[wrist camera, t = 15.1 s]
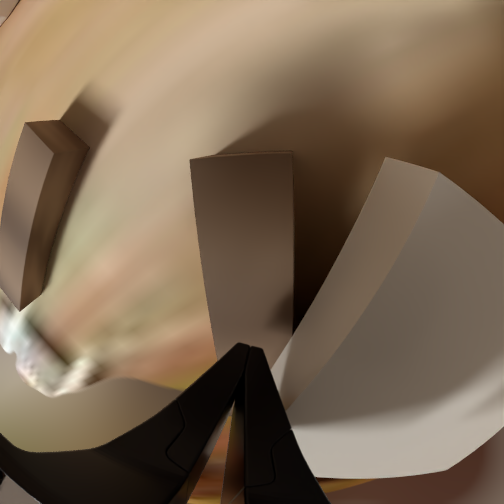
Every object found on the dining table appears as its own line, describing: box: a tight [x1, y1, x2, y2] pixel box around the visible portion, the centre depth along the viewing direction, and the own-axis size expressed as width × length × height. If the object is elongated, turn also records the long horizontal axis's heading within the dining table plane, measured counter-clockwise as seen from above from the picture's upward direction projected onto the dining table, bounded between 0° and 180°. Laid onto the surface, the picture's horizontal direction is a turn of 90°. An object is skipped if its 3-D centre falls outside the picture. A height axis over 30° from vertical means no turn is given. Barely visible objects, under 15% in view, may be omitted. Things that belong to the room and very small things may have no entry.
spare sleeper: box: [0, 120, 90, 312], centre depth 12 cm, size 12×3×3 cm, turn 140°
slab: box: [271, 157, 504, 479], centre depth 8 cm, size 12×14×3 cm
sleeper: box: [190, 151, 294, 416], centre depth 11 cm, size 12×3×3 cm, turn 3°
